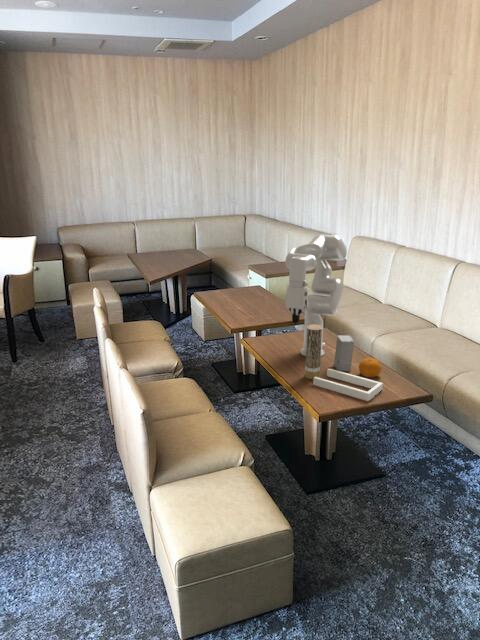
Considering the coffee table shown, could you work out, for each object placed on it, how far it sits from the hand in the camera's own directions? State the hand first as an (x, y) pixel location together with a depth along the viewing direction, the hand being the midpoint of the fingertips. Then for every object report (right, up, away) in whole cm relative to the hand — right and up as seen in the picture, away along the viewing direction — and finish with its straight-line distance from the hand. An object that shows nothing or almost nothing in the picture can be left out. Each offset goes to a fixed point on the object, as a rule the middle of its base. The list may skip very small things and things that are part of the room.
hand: (295, 322), depth 246 cm
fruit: (+35, -25, +4) cm, 44 cm away
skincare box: (+24, -23, +13) cm, 36 cm away
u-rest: (+22, -29, -8) cm, 37 cm away
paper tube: (+8, -26, +2) cm, 27 cm away
